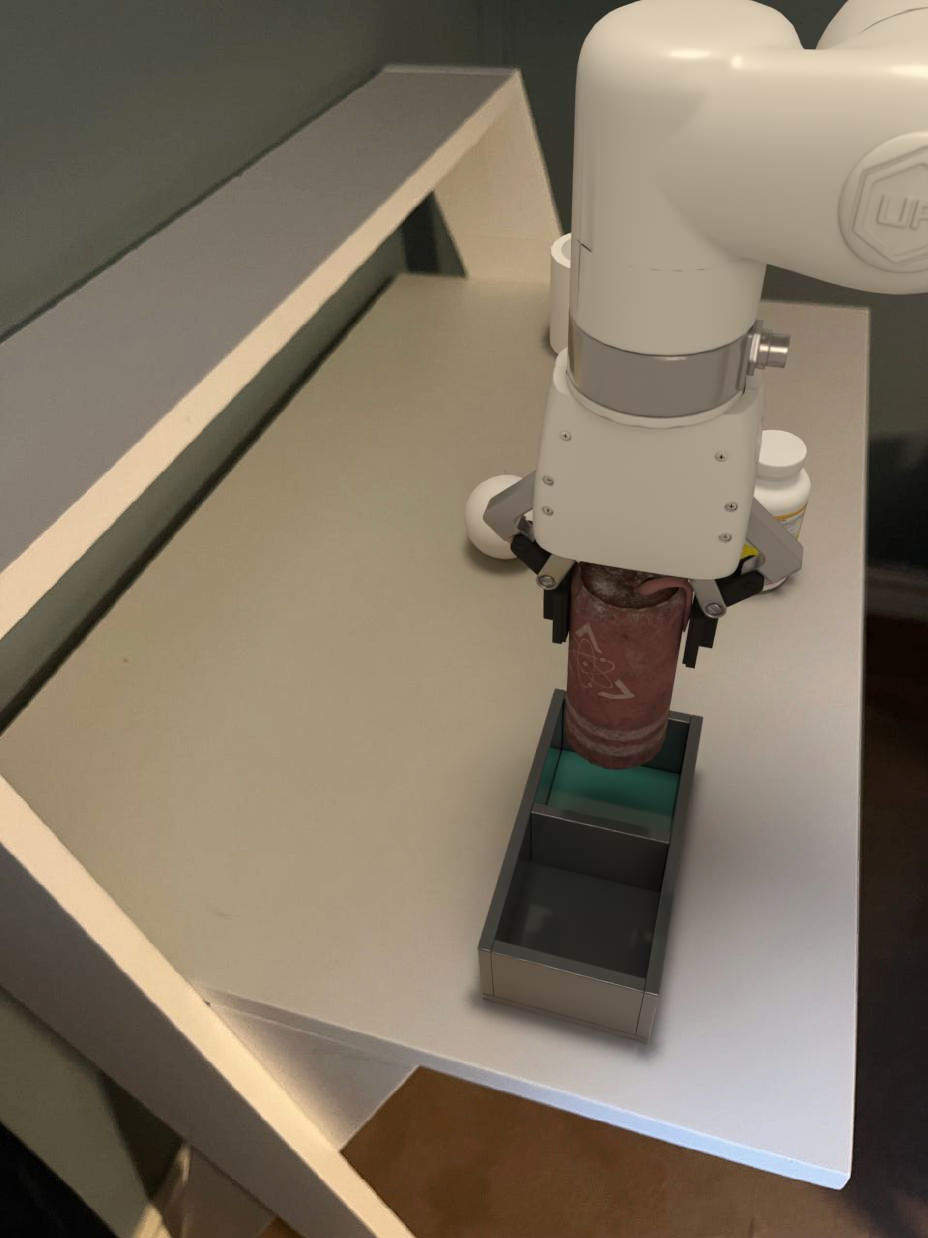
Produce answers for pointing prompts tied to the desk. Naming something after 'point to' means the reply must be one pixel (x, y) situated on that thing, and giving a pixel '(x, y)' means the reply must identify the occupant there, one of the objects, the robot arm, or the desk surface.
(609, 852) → the grey divided box
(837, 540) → the desk surface
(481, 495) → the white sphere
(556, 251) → the mug
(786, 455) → the supplement bottle
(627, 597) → the can
